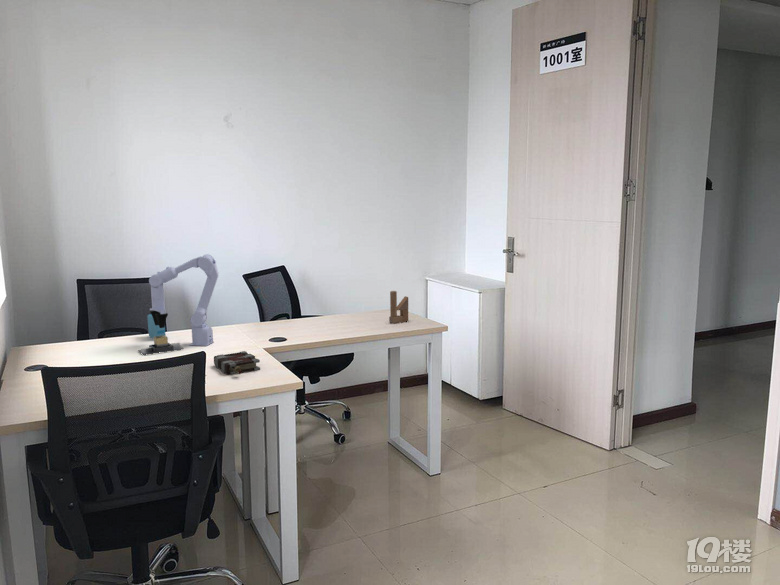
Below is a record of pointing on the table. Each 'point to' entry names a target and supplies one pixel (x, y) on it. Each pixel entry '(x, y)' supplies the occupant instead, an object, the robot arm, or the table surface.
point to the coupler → (160, 341)
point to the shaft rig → (152, 349)
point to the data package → (154, 328)
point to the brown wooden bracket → (398, 308)
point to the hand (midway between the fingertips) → (159, 326)
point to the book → (236, 363)
